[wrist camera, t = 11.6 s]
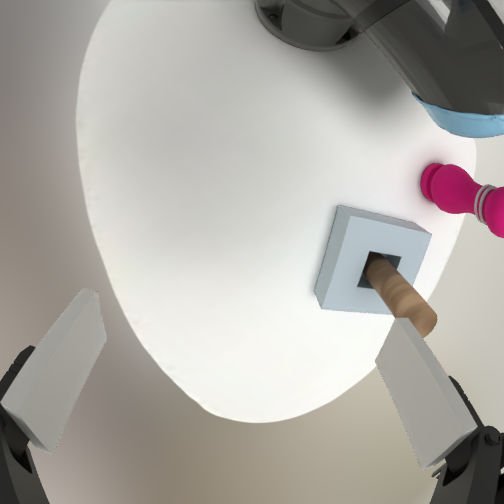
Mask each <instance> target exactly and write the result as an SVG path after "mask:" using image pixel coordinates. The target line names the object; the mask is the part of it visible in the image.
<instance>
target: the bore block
mask: <svg viewBox="0 0 504 504" xmlns="http://www.w3.org/2000/svg"><path fill="white" fill-rule="evenodd" d="M431 236H432V234H431V233H429V232H428V231H426V230H425V229H423V228H422V227H420V226H419V225H417V224H416V223H412V222H408V221H404V220H400V219H396V218H392V217H388V216H384V215H380V214H376V213H372V212H367V211H363V210H358V209H354V208H349V207H345V206H340V205H338V209H337V213H336V216H335V220H334V224H333V228H332V231H331V235H330V239H329V242H328V246H327V249H326V253H325V256H324V260H323V263H322V267H321V270H320V273H319V277H318V280H317V283H316V286H315V290H314V292H315V295H316V297H317V300H318V302H319V305H320V307H321V309H325V310H336V311H348V312H360V313H374V314H389V315H393V314H392V313H391V311H390V310H389V308H388V307H387V306H386V304H385V303H384V301H383V300H382V299H381V297H380V296H379V294H378V293H377V292H376V290H375V289H374V288H373V286H372V285H371V284H370V282H369V281H368V279H367V278H366V277H365V275H364V274H363V273H362V271H363V268H364V265H365V263H366V260H367V257H368V254H369V251H373V252H378V253H381V254H382V255H383V256H384V257H385V258H386V259H387V260H388V261H389V262H390V263H391V264H392V265H393V267H394V268H395V269H396V270H397V271H398V272H399V273H400V274H401V275H402V276H403V277H404V278H405V279H406V280H407V281H408V282H409V284H410V285H411V286H413V284H414V281H415V279H416V276H417V274H418V271H419V269H420V266H421V264H422V261H423V258H424V256H425V253H426V250H427V247H428V245H429V242H430V239H431Z"/></svg>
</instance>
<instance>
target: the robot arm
mask: <svg viewBox="0 0 504 504" xmlns="http://www.w3.org/2000/svg"><path fill="white" fill-rule="evenodd" d="M255 7H256V11H257V14H258V16H259V18H260V20H261V22H262V23H263V24H264V26H265V27H266V28H267V29H268V30H269V31H270V32H271V33H272V34H274V35H275V36H276V37H278V38H279V39H281V40H282V41H284V42H286V43H288V44H290V45H293V46H295V47H298V48H302V49H306V50H312V51H330V50H335V49H339V48H341V47H344V46H346V45H347V44H349V43H350V42H352V41H353V40H355V39H356V38H357V37H358V36H359V35H360V34H361V33H362V31H364V32H365V33H366V34H367V35H368V36H369V38H370V39H371V40H372V41H373V42H374V43H375V44H376V45H377V47H378V48H379V49H380V50H381V51H382V52H383V54H384V55H385V56H386V57H387V59H388V60H389V61H390V62H391V63H392V65H393V66H394V67H395V69H396V70H397V71H398V72H399V74H400V75H401V76H402V78H403V79H404V81H405V82H406V83H407V85H408V86H409V87H410V89H411V91H412V94H413V96H414V97H415V98H416V99H417V100H418V101H419V102H420V103H421V104H422V105H423V106H424V108H425V109H426V111H427V112H428V113H429V115H430V116H431V118H432V119H433V121H434V122H435V123H436V124H437V125H438V126H439V127H441V128H443V129H445V130H447V131H448V132H449V133H452V134H454V135H458V136H462V137H468V138H487V137H494V136H499V135H503V134H504V0H255ZM106 340H107V337H106V333H105V328H104V323H103V318H102V313H101V309H100V303H99V298H98V291H96V290H91V289H85V288H82V290H81V291H80V292H79V293H78V294H77V296H76V297H75V298H74V299H73V300H72V301H71V303H70V304H69V305H68V307H67V308H66V309H65V310H64V311H63V313H62V314H61V315H60V316H59V318H58V319H57V320H56V322H55V323H54V324H53V326H52V327H51V328H50V329H49V331H48V332H47V333H46V335H45V336H44V337H43V339H42V340H41V341H40V343H39V344H38V346H37V347H33V346H31V345H30V346H29V347H27V348H26V349H24V350H23V351H22V352H20V354H19V355H18V356H17V358H16V359H15V361H14V364H12V365H11V366H10V368H9V371H7V372H6V374H5V375H4V376H3V378H2V380H1V381H0V504H50V503H49V501H48V499H47V497H46V494H45V492H44V489H43V487H42V484H41V482H40V479H39V477H38V474H37V471H36V468H35V465H34V462H33V459H32V456H31V453H30V450H29V448H28V446H27V444H28V442H29V440H30V441H31V442H32V443H33V444H34V446H35V447H36V448H38V449H40V450H42V451H44V452H46V453H49V454H51V455H53V454H54V451H55V449H56V447H57V444H58V442H59V439H60V437H61V434H62V432H63V430H64V427H65V425H66V423H67V420H68V418H69V416H70V413H71V411H72V409H73V407H74V405H75V402H76V400H77V398H78V396H79V394H80V392H81V390H82V387H83V386H84V383H85V381H86V379H87V377H88V375H89V373H90V371H91V369H92V367H93V365H94V363H95V361H96V360H97V358H98V356H99V354H100V352H101V350H102V348H103V346H104V344H105V342H106ZM375 362H376V364H377V366H378V369H379V371H380V373H381V375H382V377H383V379H384V382H385V384H386V386H387V388H388V390H389V392H390V395H391V397H392V399H393V401H394V404H395V406H396V408H397V410H398V413H399V415H400V418H401V420H402V422H403V425H404V427H405V430H406V432H407V434H408V437H409V439H410V442H411V444H412V447H413V449H414V452H415V455H416V457H417V460H418V462H419V465H420V467H421V470H425V469H428V468H430V467H433V466H436V465H437V464H438V463H439V462H440V461H441V460H443V459H444V458H445V460H446V463H445V464H444V465H442V466H441V467H440V468H439V469H437V470H436V471H435V472H434V473H433V474H432V477H434V476H435V475H437V474H438V473H439V472H440V475H438V476H437V477H436V478H437V479H438V482H437V485H436V488H435V491H434V494H433V496H432V499H431V502H430V504H504V473H503V474H501V471H500V470H501V469H502V468H503V467H504V433H500V432H499V431H498V430H497V429H496V428H494V427H493V426H486V427H485V426H484V425H483V424H482V422H481V420H480V418H479V417H478V415H477V413H476V411H475V410H474V408H473V406H472V404H471V403H470V401H468V398H467V396H466V395H465V394H464V391H463V390H462V388H461V386H460V385H459V383H458V382H457V381H456V380H455V379H453V378H452V377H451V376H447V374H446V373H445V371H444V369H443V368H442V366H441V364H440V363H439V362H438V360H437V358H436V357H435V356H434V354H433V352H432V351H431V349H430V348H429V347H428V345H427V344H426V342H425V341H424V339H423V338H422V336H421V335H420V334H419V332H418V331H417V329H416V328H415V326H414V325H413V324H412V322H411V321H410V320H409V318H395V320H394V322H393V325H392V327H391V329H390V331H389V333H388V335H387V338H386V340H385V342H384V344H383V346H382V348H381V350H380V352H379V354H378V356H377V358H376V360H375Z"/></svg>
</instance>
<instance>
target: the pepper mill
mask: <svg viewBox="0 0 504 504" xmlns="http://www.w3.org/2000/svg"><path fill="white" fill-rule="evenodd" d="M421 189H422V192H423V194H424V196H425V197H426V198H427V199H428V200H430V201H432V202H434V203H435V204H436V205H437V206H438V207H439V208H440V209H441V210H443V211H445V212H447V213H451V214H460V213H472V214H474V215H476V217H477V219H478V221H480V222H481V223H483V224H485V225H488V227H489V229H490V231H491V232H492V233H493V234H495V235H496V236H498V237H501V238H504V187H499V188H497V187H495V186H492V185H489V184H488V185H484V186H481V185H479V184H477V183H476V182H474V181H473V179H472V178H471V177H470V175H469V174H468V173H467V172H466V171H465V170H464V169H462V168H461V167H459V166H456V165H453V164H447V165H442V164H438V163H434V164H431V165H429V166H428V167H427V168H426V169H425V171H424V172H423V175H422V178H421Z"/></svg>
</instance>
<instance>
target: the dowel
mask: <svg viewBox="0 0 504 504" xmlns="http://www.w3.org/2000/svg"><path fill="white" fill-rule="evenodd" d="M362 273H363V274H364V275H365V277H366V278H367V279H368V281H369V282H370V284H371V285H372V286H373V288H374V289H375V290H376V292H377V293H378V294H379V296H380V297H381V299H382V300H383V301H384V303H385V304H386V306H387V307H388V308H389V310H390V311H391V313H392V314H393V316H394V317H395V318H409V320H410V321H411V322H412V324H413V325H414V326H415V328H416V329H417V331H418V332H419V334H420V335H421V336H422V338H424V337H426V336H427V335H428V334H429V333H430V332H431V331H432V330H433V329H434V327H435V325H436V323H437V314H436V313H435V312H434V311H433V309H432V308H431V307H430V306H429V305H428V304H427V302H426V301H425V300H424V299H423V298H422V297H421V296H420V295H419V293H418V292H417V291H416V290H415V289H414V288H413V287H412V286H411V285H410V284H409V282H408V281H407V280H406V279H405V278H404V277H403V276H402V275H401V274H400V273H399V272H398V271H397V270H396V269H395V268H394V267H393V265H392V264H391V263H390V262H389V261H388V260H387V259H386V258H385V257H384V256H383V255H382V254H381V253H378V252H373V251H369V254H368V257H367V260H366V263H365V265H364V268H363V271H362Z"/></svg>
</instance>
